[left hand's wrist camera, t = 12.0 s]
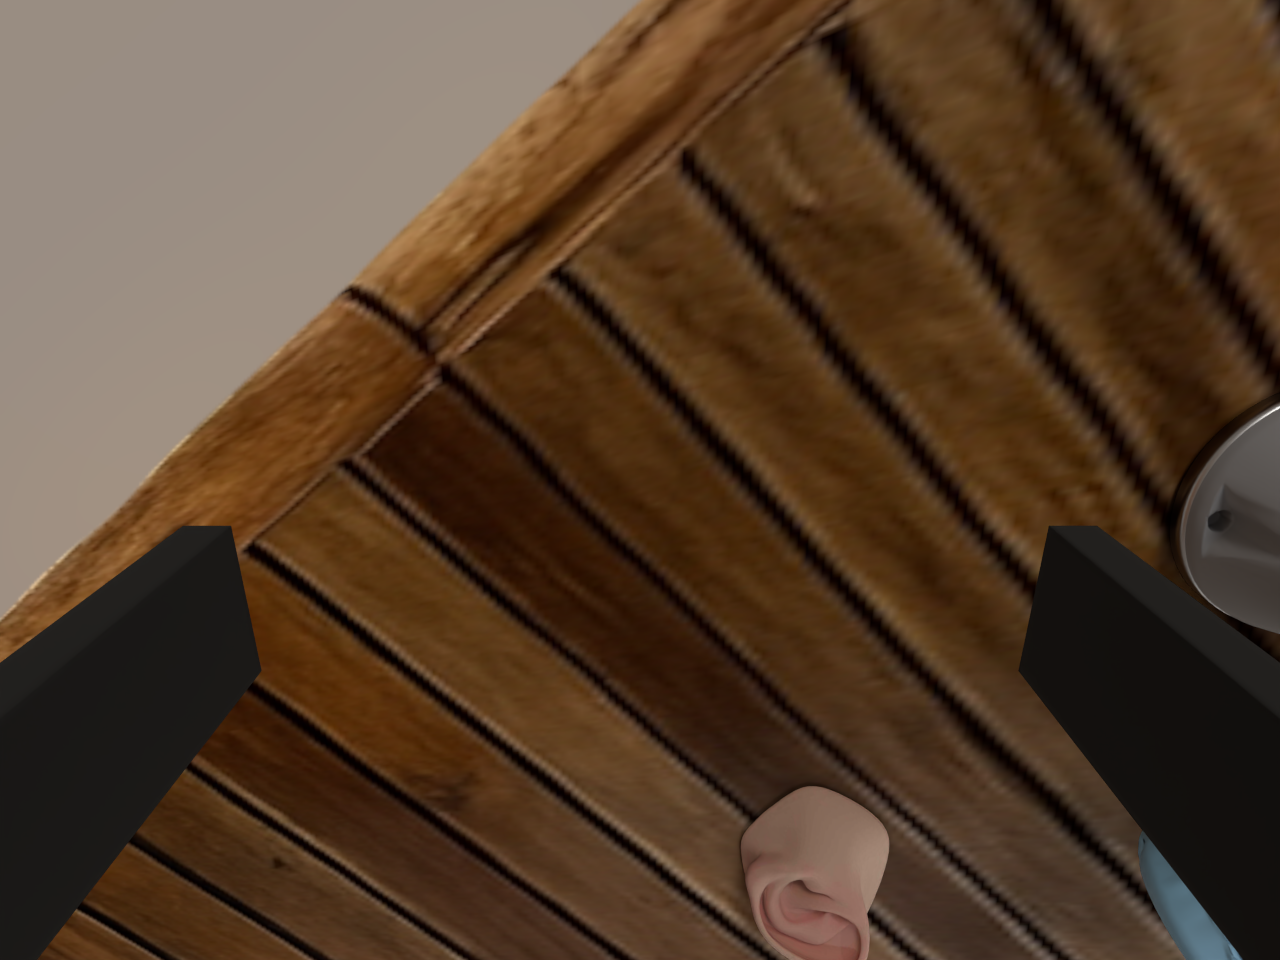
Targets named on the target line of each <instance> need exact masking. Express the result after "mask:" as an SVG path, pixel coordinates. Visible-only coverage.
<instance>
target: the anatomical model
mask: <svg viewBox="0 0 1280 960" xmlns="http://www.w3.org/2000/svg"><path fill="white" fill-rule="evenodd" d="M888 853H889V838H888V834H887V831H886V829H885V828H884V826H883V824H882V823H881V822H880V821H879V820H878V819H877V818H876V817H875V816H874V815H873V814H872V813H871V812H869V811H868V810H867V809H865V808H864V807H862V806H861V805H859V804H858V803H856V802H854V801H852V800H851V799H849V798H847V797H845V796H843V795H841V794H839V793H836V792H834V791H832V790H829V789H826V788H823V787H817V786H807V787H803V788H800V789H798V790H795V791H793V792H792V793H790V794H788V795H787V796H785V797H784V798H782V799H781V800H779V801H778V802H777V803H775V804H774V805H773V806H771V807H770V808H769V809H767V810H766V811H765V812H764V813H763V814H762V815H760V816H759V817H758V818H757V819H756V820H755V821H754V822H753V823H752V824H751V825H750V826H749V827H748V829H747V830H746V832H745V833H744V835H743V837H742V840H741V856H742V863H743V868H744V873H745V882H746V887H747V891H748V895H749V899H750V903H751V908H752V913H753V916H754V920H755V922H756V925H757V927H758V929H759V931H760V933H761V934H762V936H763V937H764V938H765V940H766V941H767V942H768V943H769V944H770V945H771V946H772V947H773V948H774V949H776V950H777V951H778V952H779V953H781V954H782V955H783V956H785V957H787V958H788V959H790V960H867V957H868V951H869V923H868V917H867V912H868V910H869V909H870V906H871V904H872V902H873V900H874V897H875V895H876V892H877V890H878V887H879V885H880V882H881V879H882V876H883V873H884V870H885V866H886V862H887V858H888Z"/></svg>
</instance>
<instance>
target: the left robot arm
mask: <svg viewBox="0 0 1280 960" xmlns="http://www.w3.org/2000/svg"><path fill="white" fill-rule="evenodd" d="M1170 543H1171V550H1172V554H1173V558H1174V560H1175V563H1176V566H1177V568H1178V570H1179V572H1180V573H1181V575H1182V577H1183V578H1184V580H1185V581H1186V582H1187V584H1188V585H1189V586H1190V587H1191V588H1192V589H1193V590H1194V591H1195V592H1196V593H1198V594H1199V595H1200V596H1201V597H1203V598H1204V599H1205V600H1207V601H1208V602H1209V603H1211V604H1212V605H1213V606H1215V607H1216V608H1218V609H1219V610H1221V611H1222V612H1224V613H1226V614H1228V615H1230V616H1232V617H1234V618H1236V619H1238V620H1240V621H1242V622H1244V623H1247V624H1249V625H1252V626H1255V627H1258V628H1261V629H1265V630H1268V631H1271V632H1275V633H1278V634H1280V393H1277V394H1275V395H1273V396H1271V397H1269V398H1267V399H1265V400H1263V401H1261V402H1259V403H1257V404H1256V405H1254V406H1252V407H1251V408H1249V409H1247V410H1246V411H1244V412H1243V413H1242V414H1240V415H1239V416H1237V417H1236V418H1235V419H1233V420H1232V421H1231V422H1230V423H1228V424H1227V425H1226V426H1225V427H1224V428H1223V429H1222V430H1221V431H1219V432H1218V433H1217V434H1216V435H1215V436H1214V437H1213V438H1212V439H1211V441H1210V442H1209V443H1208V444H1207V445H1206V446H1205V447H1204V448H1203V450H1202V451H1201V452H1200V454H1199V455H1198V456H1197V457H1196V459H1195V460H1194V462H1193V463H1192V465H1191V466H1190V468H1189V470H1188V471H1187V473H1186V475H1185V477H1184V479H1183V481H1182V483H1181V485H1180V488H1179V490H1178V492H1177V495H1176V498H1175V501H1174V505H1173V509H1172V514H1171V521H1170ZM260 672H261V666H260V662H259V657H258V652H257V647H256V643H255V638H254V633H253V628H252V624H251V619H250V614H249V609H248V605H247V600H246V595H245V590H244V586H243V581H242V576H241V571H240V567H239V562H238V557H237V552H236V548H235V543H234V538H233V533H232V529H231V526H182V527H181V528H180V529H178V530H177V531H176V532H174V533H173V534H172V535H170V536H169V537H168V538H166V539H165V540H164V541H162V542H161V543H160V544H158V545H157V546H156V547H154V548H153V549H152V550H150V551H149V552H148V553H146V554H145V555H144V556H142V557H141V558H140V559H138V560H137V561H136V562H134V563H133V564H132V565H130V566H129V567H128V568H126V569H125V570H124V571H122V572H121V573H120V574H118V575H117V576H116V577H114V578H113V579H112V580H110V581H109V582H108V583H106V584H105V585H104V586H102V587H101V588H100V589H98V590H97V591H96V592H94V593H93V594H91V595H90V596H89V597H87V598H86V599H85V600H83V601H82V602H81V603H79V604H78V605H77V606H75V607H74V608H73V609H71V610H70V611H69V612H67V613H66V614H65V615H63V616H62V617H61V618H59V619H58V620H57V621H55V622H54V623H53V624H51V625H50V626H49V627H47V628H46V629H45V630H43V631H42V632H41V633H39V634H38V635H37V636H35V637H34V638H33V639H31V640H30V641H29V642H27V643H26V644H25V645H23V646H22V647H21V648H19V649H18V650H17V651H15V652H14V653H13V654H11V655H10V656H9V657H7V658H6V659H5V660H3V661H2V662H1V663H0V960H37V959H38V958H39V956H40V955H41V954H42V952H43V951H44V950H45V949H46V947H47V946H48V945H49V943H50V942H51V941H52V940H53V938H54V937H55V936H56V934H57V933H58V932H59V931H60V929H61V928H62V927H63V925H64V924H65V923H66V922H67V920H68V919H69V918H70V916H71V915H72V914H73V913H74V911H75V910H76V909H77V907H78V906H79V905H80V904H81V902H82V901H83V900H84V898H85V897H86V896H87V895H88V893H89V892H90V891H91V889H92V888H93V887H94V886H95V884H96V883H97V882H98V880H99V879H100V878H101V877H102V875H103V874H104V873H105V871H106V870H107V869H108V868H109V866H110V865H111V864H112V862H113V861H114V860H115V859H116V857H117V856H118V855H119V853H120V852H121V851H122V850H123V848H124V847H125V846H126V844H127V843H128V842H129V841H130V839H131V838H132V837H133V835H134V834H135V833H136V832H137V830H138V829H139V828H140V826H141V825H142V824H143V823H144V821H145V820H146V819H147V817H148V816H149V815H150V814H151V812H152V811H153V810H154V808H155V807H156V806H157V805H158V803H159V802H160V801H161V799H162V798H163V797H164V796H165V794H166V793H167V792H168V790H169V789H170V788H171V787H172V785H173V784H174V783H175V781H176V780H177V779H178V778H179V776H180V775H181V774H182V772H183V771H184V770H185V769H186V767H187V766H188V765H189V763H190V762H191V761H192V760H193V758H194V757H195V756H196V754H197V753H198V752H199V751H200V749H201V748H202V747H203V745H204V744H205V743H206V741H207V740H208V739H209V738H210V736H211V735H212V734H213V733H214V731H215V730H216V729H217V727H218V726H219V725H220V723H221V722H222V721H223V720H224V718H225V717H226V716H227V714H228V713H229V712H230V711H231V709H232V708H233V707H234V705H235V704H236V703H237V702H238V700H239V699H240V698H241V696H242V695H243V694H244V693H245V691H246V690H247V689H248V687H249V686H250V685H251V684H252V682H253V681H254V680H255V678H256V677H257V676H258V675H259V673H260ZM1019 672H1020V673H1021V675H1022V676H1023V677H1024V678H1025V680H1026V681H1027V682H1028V684H1029V685H1030V686H1031V687H1032V689H1033V690H1034V691H1035V693H1036V694H1037V695H1038V696H1039V698H1040V699H1041V700H1042V702H1043V703H1044V704H1045V705H1046V707H1047V708H1048V709H1049V711H1050V712H1051V713H1052V714H1053V716H1054V717H1055V718H1056V720H1057V721H1058V722H1059V724H1060V725H1061V726H1062V727H1063V729H1064V730H1065V731H1066V733H1067V734H1068V735H1069V736H1070V738H1071V739H1072V740H1073V742H1074V743H1075V744H1076V745H1077V747H1078V748H1079V749H1080V751H1081V752H1082V753H1083V754H1084V756H1085V757H1086V758H1087V760H1088V761H1089V762H1090V763H1091V765H1092V766H1093V767H1094V769H1095V770H1096V771H1097V772H1098V774H1099V775H1100V776H1101V778H1102V779H1103V780H1104V781H1105V783H1106V784H1107V785H1108V787H1109V788H1110V789H1111V790H1112V792H1113V793H1114V794H1115V796H1116V797H1117V798H1118V799H1119V801H1120V802H1121V803H1122V805H1123V806H1124V807H1125V808H1126V810H1127V811H1128V812H1129V814H1130V815H1131V816H1132V817H1133V819H1134V820H1135V821H1136V823H1137V824H1138V825H1139V826H1140V828H1141V829H1142V832H1141V835H1140V838H1139V848H1138V855H1139V860H1140V863H1139V865H1140V869H1141V874H1142V878H1143V880H1144V883H1145V886H1146V889H1147V891H1148V893H1149V896H1150V898H1151V900H1152V902H1153V904H1154V906H1155V908H1156V910H1157V912H1158V914H1159V916H1160V918H1161V920H1162V922H1163V923H1164V925H1165V927H1166V928H1167V930H1168V932H1169V934H1170V935H1171V937H1172V938H1173V940H1174V942H1175V943H1176V945H1177V946H1178V948H1179V950H1180V951H1181V953H1182V954H1183V956H1184V957H1185V959H1186V960H1280V663H1279V662H1278V661H1277V660H1275V659H1274V658H1273V657H1271V656H1270V655H1269V654H1267V653H1266V652H1265V651H1263V650H1262V649H1261V648H1259V647H1258V646H1257V645H1255V644H1254V643H1253V642H1251V641H1250V640H1249V639H1247V638H1246V637H1245V636H1243V635H1242V634H1241V633H1239V632H1238V631H1237V630H1235V629H1234V628H1233V627H1231V626H1230V625H1229V624H1227V623H1226V622H1225V621H1223V620H1222V619H1221V618H1219V617H1218V616H1217V615H1215V614H1214V613H1213V612H1211V611H1210V610H1209V609H1207V608H1206V607H1205V606H1203V605H1202V604H1201V603H1199V602H1198V601H1197V600H1195V599H1194V598H1193V597H1191V596H1190V595H1189V594H1187V593H1186V592H1184V591H1183V590H1182V589H1180V588H1179V587H1178V586H1176V585H1175V584H1174V583H1172V582H1171V581H1170V580H1168V579H1167V578H1166V577H1164V576H1163V575H1162V574H1160V573H1159V572H1158V571H1156V570H1155V569H1154V568H1152V567H1151V566H1150V565H1148V564H1147V563H1146V562H1144V561H1143V560H1142V559H1140V558H1139V557H1138V556H1136V555H1135V554H1134V553H1132V552H1131V551H1130V550H1128V549H1127V548H1126V547H1124V546H1123V545H1122V544H1120V543H1119V542H1118V541H1116V540H1115V539H1114V538H1112V537H1111V536H1110V535H1108V534H1107V533H1106V532H1104V531H1103V530H1102V529H1100V528H1099V527H1098V526H1049V529H1048V533H1047V538H1046V543H1045V548H1044V552H1043V557H1042V562H1041V567H1040V571H1039V576H1038V581H1037V586H1036V590H1035V595H1034V600H1033V605H1032V609H1031V614H1030V619H1029V624H1028V628H1027V633H1026V638H1025V643H1024V647H1023V652H1022V657H1021V662H1020V666H1019Z"/></svg>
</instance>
